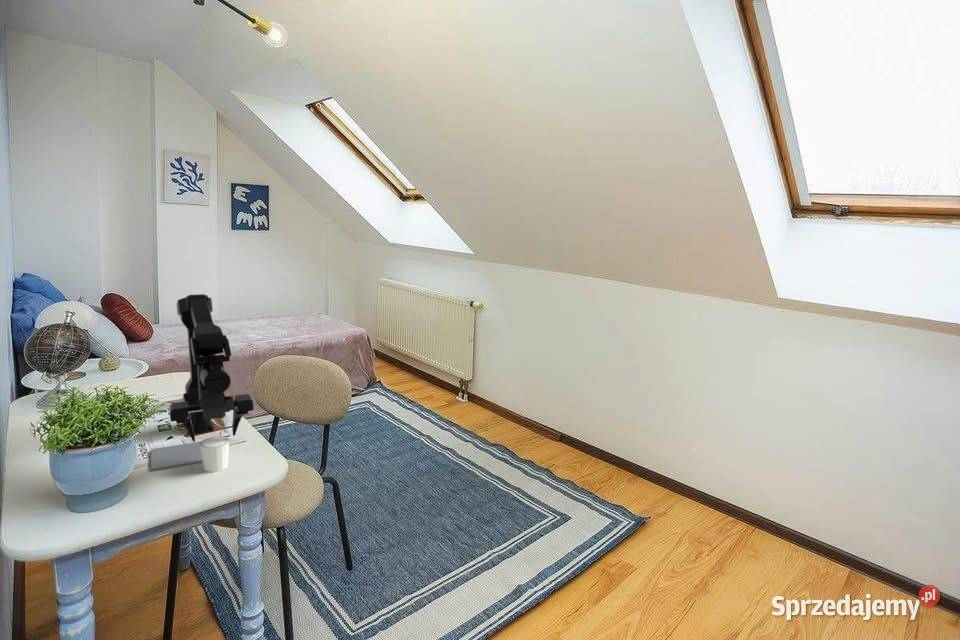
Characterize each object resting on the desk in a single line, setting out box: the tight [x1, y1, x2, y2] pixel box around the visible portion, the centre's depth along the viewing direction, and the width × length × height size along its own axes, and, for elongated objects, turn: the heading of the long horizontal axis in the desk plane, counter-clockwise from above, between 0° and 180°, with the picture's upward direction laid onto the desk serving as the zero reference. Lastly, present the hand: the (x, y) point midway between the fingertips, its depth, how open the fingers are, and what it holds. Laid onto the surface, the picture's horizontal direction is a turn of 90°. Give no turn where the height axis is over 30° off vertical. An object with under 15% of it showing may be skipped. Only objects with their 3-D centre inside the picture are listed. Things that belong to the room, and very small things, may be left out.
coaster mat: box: [150, 440, 203, 472], centre depth 144 cm, size 12×12×1 cm
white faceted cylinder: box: [199, 436, 230, 473], centre depth 140 cm, size 7×7×7 cm
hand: (214, 438), depth 139 cm, fingers open, 9 cm apart
